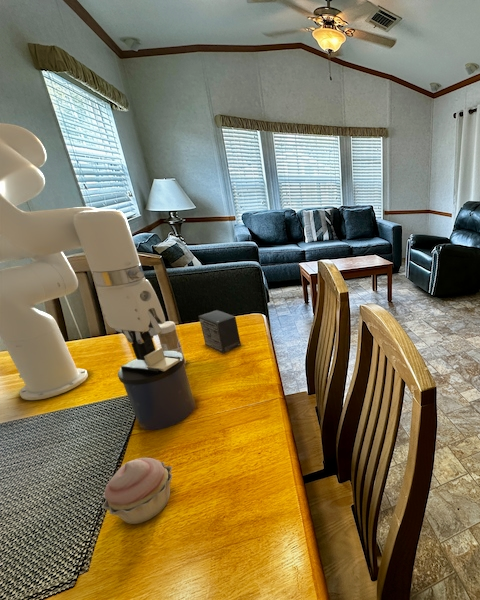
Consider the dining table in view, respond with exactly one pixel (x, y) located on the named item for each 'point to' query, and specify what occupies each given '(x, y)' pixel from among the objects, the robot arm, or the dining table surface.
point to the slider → (159, 360)
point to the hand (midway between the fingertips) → (146, 356)
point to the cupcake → (138, 490)
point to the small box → (220, 331)
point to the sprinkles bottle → (170, 338)
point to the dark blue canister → (158, 392)
